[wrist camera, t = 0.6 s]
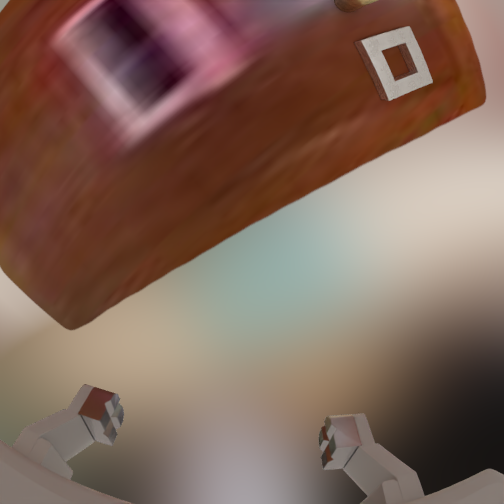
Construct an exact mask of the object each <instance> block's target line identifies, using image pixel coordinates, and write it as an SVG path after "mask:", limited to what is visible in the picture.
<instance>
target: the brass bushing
mask: <svg viewBox="0 0 504 504" xmlns="http://www.w3.org/2000/svg"><path fill="white" fill-rule="evenodd" d="M375 1H377V0H334V3H335V5H336V6H337V7H338V8H339V9H340V10H342V11H344V12H352V11H354V10H357V9H359V8H361V7H363V6H365V5H368V4H370V3H372V2H375Z"/></svg>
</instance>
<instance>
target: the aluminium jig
mask: <svg viewBox="0 0 504 504" xmlns="http://www.w3.org/2000/svg"><path fill="white" fill-rule="evenodd" d="M354 44H355V46H356V48H357V50H358V51H359V53H360V55H361V57H362V59H363V61H364V63H365V65H366V67H367V69H368V71H369V74H370V76H371V78H372V80H373V82H374V84H375V87H376V89H377V91H378V93H379V96H380V98H381V100H387V101H390V100H392V99H394V98H397V97H399V96H401V95H404V94H406V93H408V92H411V91H413V90H415V89H418V88H420V87H423V86H425V85H427V84H430V83H432V82H433V81H432V78H431V75H430V72H429V70H428V67H427V65H426V62H425V60H424V57H423V55H422V53H421V50H420V48H419V46H418V43H417V41H416V39H415V37H414V35H413V33H412V31H411V29H410V26H408V27H402V28H398V29H395V30H391V31H388V32H384V33H381V34H378V35H375V36H371V37H368V38H365V39H362V40H360V41H357V42H354ZM397 45H398V47H399V49H400V52H401V54H402V56H403V58H404V61H405V63H406V65H407V68H408V70H409V72H408V73H405V74H403V75H400V76H398V77H395V78H393V75H392V73H391V71H390V69H389V66H388V64H387V62H386V60H385V58H384V56H383V54H382V52H381V51H382V50H385V49H387V48H390V47H393V46H397Z"/></svg>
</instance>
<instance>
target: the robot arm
mask: <svg viewBox="0 0 504 504" xmlns="http://www.w3.org/2000/svg"><path fill="white" fill-rule="evenodd" d="M119 400H120V398H119V396H118V394H116V393H112V392H109V391H106V390H102V389H99V388H96V387H93V386H90V385H87V384H84V385H83V386H82V387H81V388H80V390H79V392H78V393H77V395H76V396H75V398H74V399H73V401H72V403H71V404H70V406H69V408H68V409H67V410H66V409H63V410H61V411H59V412H57V413H55V414H52V415H50V416H48V417H46V418H44V419H42V420H40V421H38V422H35V423H33V424H31V425H29V426H26V427H25V428H24V429H23V430H22V432H21V434H20V435H19V437H18V438H17V440H16V441H15V443H14V445H13V446H12V447H10V446H9V445H7V444H6V443H4V442H3V441H1V440H0V504H133V503H130V502H127V501H123V500H120V499H117V498H114V497H111V496H109V495H106V494H103V493H100V492H98V491H95V490H92V489H90V488H87V487H85V486H83V485H80V484H78V483H76V482H74V481H71V480H70V479H71V476H72V474H73V471H72V469H71V468H70V467H69V466H68V464H67V463H66V461H68V460H69V459H70V458H72V457H73V456H75V455H76V454H78V453H79V452H81V451H82V450H83V449H85V448H86V447H88V446H89V445H90V444H92V443H93V442H94V440H95V441H98V442H101V443H104V444H107V445H111V446H113V443H114V441H115V439H116V436H117V432H116V429H117V428H119V427H121V425H122V422H123V418H124V410H123V407H122V406H121V405H120V404H119V403H118V402H119ZM324 422H325V426H324V427H322V428H321V430H320V433H319V447H320V449H321V450H322V451H323V454H322V456H321V459H322V466H323V470H328V469H342V468H344V469H343V470H344V471H345V472H346V473H347V474H348V475H349V476H350V477H351V479H352V480H353V481H354V482H355V483H356V484H357V485H358V486H359V487H360V488H361V489H362V490H363V491H364V492H365V493H366V494H367V495H368V497H367V498H366V499H365V500H364V501H363V502H361V503H360V504H504V475H503V474H501V473H499V472H497V471H495V470H492V469H487V470H484V471H482V472H480V473H478V474H476V475H474V476H472V477H470V478H468V479H466V480H464V481H461V482H459V483H457V484H455V485H453V486H450V487H448V488H445V489H443V490H441V491H438V492H435V493H433V494H430V495H427V496H424V493H423V491H422V487H421V484H420V482H419V479H418V476H417V473H416V472H415V471H413V470H412V469H411V468H409V467H408V466H407V465H405V464H404V463H403V462H401V461H400V460H399V459H397V458H396V457H395V456H394V455H392V454H391V453H390V452H388V451H387V450H386V449H384V448H383V447H382V446H381V445H379V444H375V442H374V439H373V436H372V433H371V431H370V427H369V424H368V422H367V418H366V416H365V414H352V415H351V414H348V415H335V416H327V417H326V419H325V421H324Z"/></svg>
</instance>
